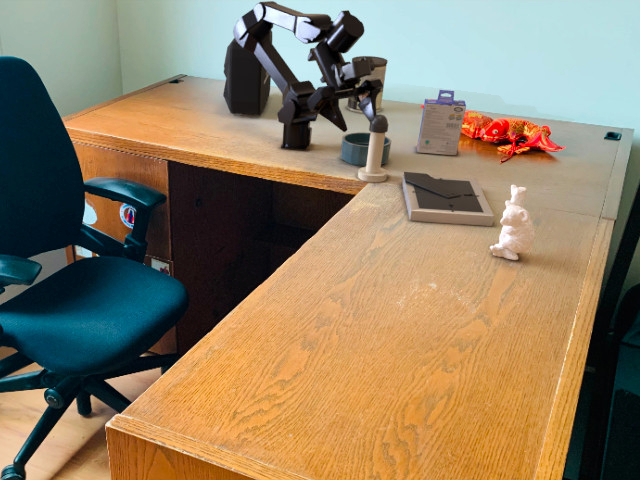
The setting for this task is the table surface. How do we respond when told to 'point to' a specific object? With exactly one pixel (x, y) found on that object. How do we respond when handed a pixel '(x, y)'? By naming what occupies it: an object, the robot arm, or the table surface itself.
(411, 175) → the picture frame
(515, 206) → the white animal figurine
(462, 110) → the ink cartridge box
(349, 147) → the bowl
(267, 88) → the black hard case
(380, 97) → the coffee can
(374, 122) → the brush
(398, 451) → the table surface
